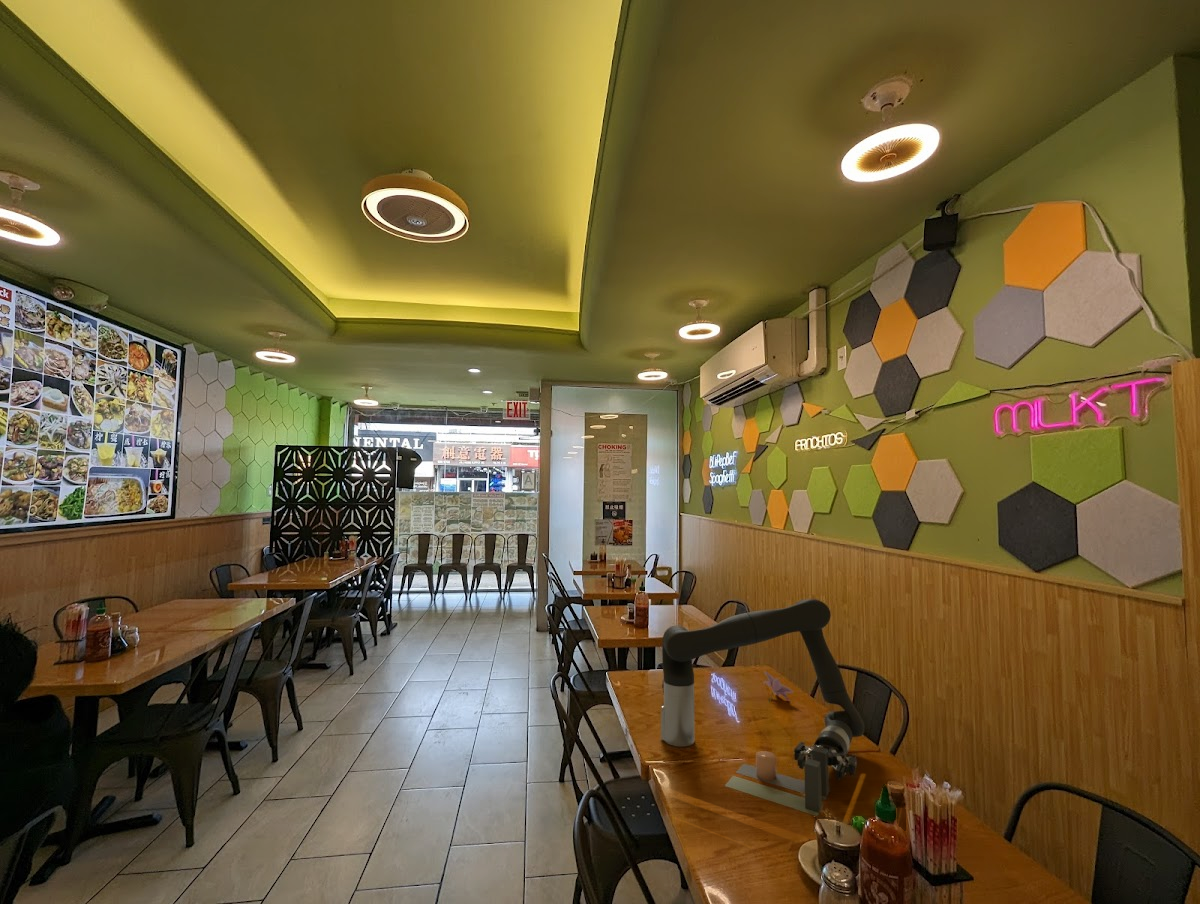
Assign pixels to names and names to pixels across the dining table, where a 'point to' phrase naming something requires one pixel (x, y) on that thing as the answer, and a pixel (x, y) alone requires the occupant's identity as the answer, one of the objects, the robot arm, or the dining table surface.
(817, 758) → the grey l-shaped bracket
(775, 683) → the lily
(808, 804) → the grey angle bracket
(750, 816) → the dining table surface
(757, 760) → the tan round cylinder
